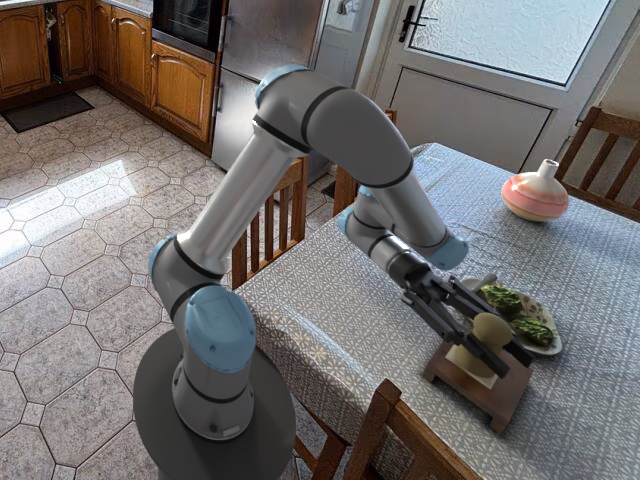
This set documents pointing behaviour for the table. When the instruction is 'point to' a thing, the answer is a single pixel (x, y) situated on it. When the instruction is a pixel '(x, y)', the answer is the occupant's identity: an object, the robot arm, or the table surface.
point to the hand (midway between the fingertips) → (518, 367)
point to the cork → (492, 335)
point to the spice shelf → (482, 383)
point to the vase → (536, 194)
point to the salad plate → (518, 315)
